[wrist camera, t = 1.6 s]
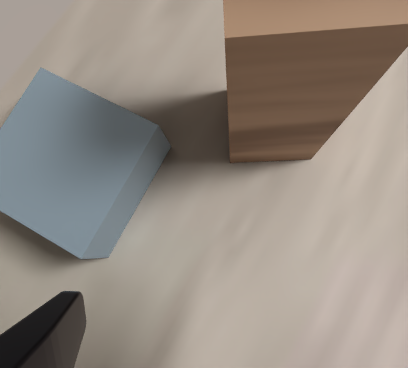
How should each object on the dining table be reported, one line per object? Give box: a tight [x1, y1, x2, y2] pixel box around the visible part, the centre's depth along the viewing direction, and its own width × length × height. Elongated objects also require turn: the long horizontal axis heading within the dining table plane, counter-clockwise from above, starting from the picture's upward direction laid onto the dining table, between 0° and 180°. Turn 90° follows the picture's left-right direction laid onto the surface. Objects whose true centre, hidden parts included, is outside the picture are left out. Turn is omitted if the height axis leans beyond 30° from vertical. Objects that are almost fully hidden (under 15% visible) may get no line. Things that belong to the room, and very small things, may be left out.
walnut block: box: [223, 0, 408, 163], centre depth 15 cm, size 5×5×12 cm
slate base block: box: [0, 68, 171, 259], centre depth 20 cm, size 8×8×4 cm
